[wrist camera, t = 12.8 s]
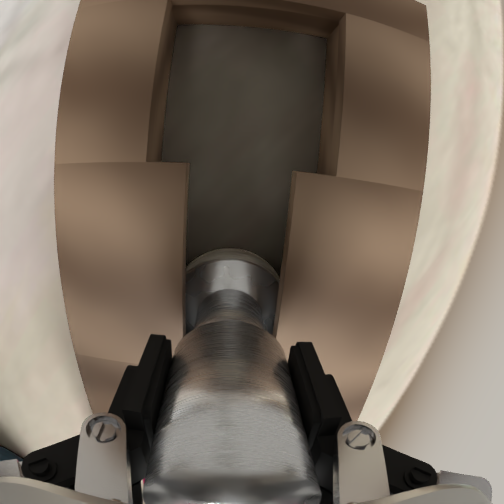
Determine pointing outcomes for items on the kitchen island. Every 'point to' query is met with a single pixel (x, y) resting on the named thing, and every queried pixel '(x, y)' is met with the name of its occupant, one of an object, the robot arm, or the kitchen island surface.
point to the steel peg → (230, 396)
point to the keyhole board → (301, 191)
